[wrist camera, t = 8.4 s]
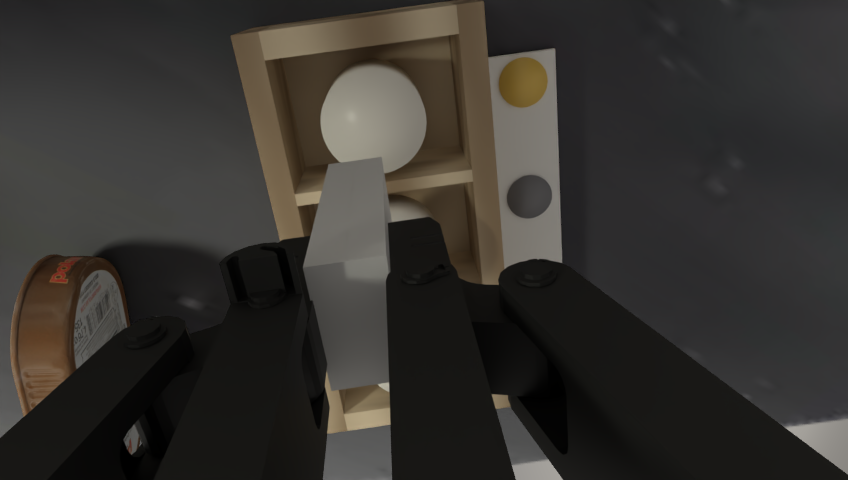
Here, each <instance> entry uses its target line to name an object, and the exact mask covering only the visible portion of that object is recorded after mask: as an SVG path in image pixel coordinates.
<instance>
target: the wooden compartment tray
mask: <svg viewBox="0 0 848 480" xmlns="http://www.w3.org/2000/svg"><path fill="white" fill-rule="evenodd" d="M230 36H231V40H232V44H233V48H234V53H235V57H236V61H237V65H238V69H239V73H240V77H241V81H242V86H243V90H244V94H245V98H246V102H247V106H248V110H249V114H250V118H251V123H252V127H253V131H254V135H255V139H256V143H257V147H258V151H259V156H260V160H261V164H262V168H263V172H264V176H265V180H266V184H267V189H268V193H269V197H270V201H271V205H272V209H273V213H274V217H275V222H276V226H277V230H278V234H279V238H280V241H281V240H284V239H291V238H297V237H304V236H311V233H312V229H313V225H314V221H315V217H316V213H317V209H318V205H319V201H320V197H321V193H322V189H323V185H324V181H325V177H326V173H327V169H328V165H329V164H334V163H341V162H339V161H338V160H337V159H336V158H335V157H334V156H333V154H332V153H331V152H330V150H329V149H328V147H327V145H326V143H325V141H324V139H323V135H322V131H321V124H320V120H321V110H322V107H323V103H324V101H325V99H326V96H327V94H328V92H329V90H330V87H331V85H332V83H333V82H334V80H335V78H336V77H337V76H338V75H339V73H341V72H342V71H343V70H344V69H345V68H346V67H348V66H349V65H351V64H353V63H355V62H358V61H361V60H366V59H380V60H385V61H388V62H391V63H393V64H395V65H397V66H399V67H400V68H401V69H403V70H404V71H405V72H406V73H407V74H408V75H409V76H410V77H411V78H412V80H413V82H414V83H415V85H416V87H417V89H418V92H419V94H420V97H421V100H422V102H423V105H424V108H425V113H426V121H427V125H426V133H425V137H424V140H423V143H422V145H421V147H420V149H419V150H418V152H417V153H416V155H415V156H414V157H413V158H412V159H411V160H410V161H409V162H408V163H407V164H405V165H404V166H402V167H401V168H399V169H397V170H395V171H392V172H389V173H384V174H385V181H386V187H387V193H388V195H403V196H407V197H410V198H413V199H415V200H417V201H418V202H420V203H422V204H423V205H424V206H425V207H426V208H427V209H428V210H429V211H430V212H431V214H432V215H433V217H434V219H435V221H437V222H438V223H440V226H441V229H442V233H443V237H444V240H445V244H446V248H447V251H448V255H449V259H450V262H451V264H452V265H453V266H454V267H455V269H456V270H457V273H458V277H459V278H461V279H463V280H465V281H468V282H472V283H476V284H486V285H499V283H498V278H499V275H500V272H502V271H503V270H504V257H503V244H502V231H501V218H500V205H499V192H498V179H497V166H496V153H495V140H494V127H493V114H492V101H491V88H490V75H489V62H488V49H487V36H486V23H485V10H484V1H481V0H452V1H445V2H438V3H430V4H423V5H416V6H408V7H401V8H394V9H386V10H379V11H372V12H364V13H357V14H349V15H342V16H335V17H327V18H320V19H313V20H305V21H298V22H291V23H283V24H276V25H269V26H261V27H254V28H250V29H248V30H245V31H242V32H239V33H236V34H233V35H230ZM325 388H326V393H327V397H328V401H329V406H330V411H329V421H328V431H327V434H329V433H336V432H343V431H350V430H356V429H363V428H370V427H377V426H384V425H390V424H391V423H390V393H389V392H388V391H386V390H384V389H383V388H381V387H380V386H379V385H378V384H375V385H368V386H361V387H355V388H348V389H342V390H335V391H331V387H330V383H329V379H328V374H327V372H326V380H325ZM492 397H493V401H494V404H495V408H496V409H499V408H506V407H511V406H510V403H509V401H508V395H497V394H492Z"/></svg>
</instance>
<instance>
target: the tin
mask: <svg viewBox="0 0 848 480" xmlns="http://www.w3.org/2000/svg"><path fill="white" fill-rule="evenodd" d="M129 326H130V320H129V315H128V309H127V303H126V297H125V292H124V288H123V285H122V281H121V279H120V276H119V274H118V272H117V270H116V269H115V267H114V266H113V265H112V264H111V263H110V262H109V261H107V260H106V259H104V258H100V257H91V256H68V257H63V256H61V255H48V256H46V257H44V258H42V259H40V260H39V261H38V262H37V263H36V264H35V265H34V266H33V267H32V268H31V270H30V271H29V273H28V274H27V276H26V277H25V279H24V282H23V284H22V286H21V289H20V291H19V294H18V296H17V300H16V303H15V306H14V312H13V317H12V325H11V336H10V354H11V365H12V371H13V376H14V380H15V385H16V388H17V392H18V396H19V399H20V403H21V407H22V412H23V416H25V415H27V414H28V413H29V412H30V411H31V410H32V409H33V408H34V407H35V406H36V405H38V404H39V403H40V402H41V401H42V400H43V399H44V398H45V397H46V396H48V395H49V394H50V393H51V392H52V391H53V390H54V389H55V388H56V387H58V386H59V385H60V384H61V383H62V382H63V381H64V380H65V379H66V378H68V377H69V376H70V375H71V374H72V373H73V372H74V371H75V370H76V369H78V368H79V367H80V366H81V365H82V364H83V363H84V362H85V361H86V360H87V359H89V358H90V357H91V356H92V355H93V354H94V353H95V352H96V351H97V350H99V349H100V348H101V347H102V346H103V345H104V344H105V343H106V342H107V341H109V340H110V339H111V338H112V337H113V336H115V335H116V334H117V333H119V332H120V331H122V330H123V329H125V328H127V327H129ZM124 442H125V445H126V447H127V449H128V451H129V453H130V454H131V455H132V454H133V453H134V452H136V450H137V449H138V448H139V444H140V437H139V435H138V432H137V430H136V427H135V425H133V426H132V428H131V429H130V430H129V431H128V433H127V434H126V436H125V438H124Z"/></svg>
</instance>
